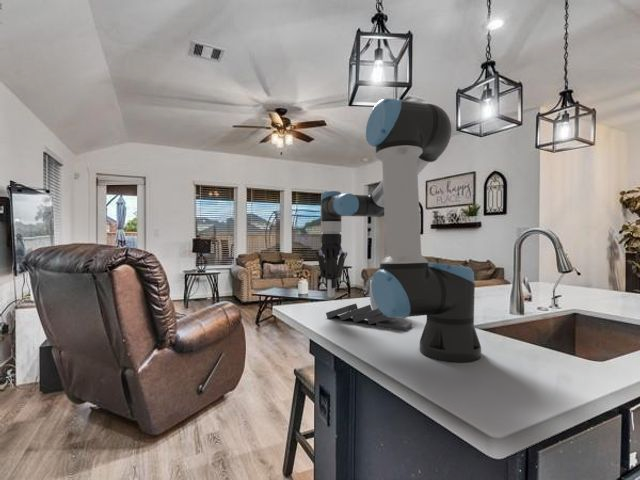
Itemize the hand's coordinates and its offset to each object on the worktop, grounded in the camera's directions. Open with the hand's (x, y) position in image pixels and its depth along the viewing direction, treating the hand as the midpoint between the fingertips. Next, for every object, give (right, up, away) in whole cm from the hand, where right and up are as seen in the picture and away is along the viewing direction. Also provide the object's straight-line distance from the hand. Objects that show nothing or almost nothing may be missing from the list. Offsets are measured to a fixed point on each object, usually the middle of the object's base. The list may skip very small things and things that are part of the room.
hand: (331, 296), depth 136 cm
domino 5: (+16, -8, -12) cm, 21 cm away
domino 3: (+9, -7, -6) cm, 13 cm away
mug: (+21, -8, +2) cm, 22 cm away
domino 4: (+14, -7, -10) cm, 18 cm away
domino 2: (+5, -7, -3) cm, 9 cm away
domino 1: (0, -7, 0) cm, 7 cm away
